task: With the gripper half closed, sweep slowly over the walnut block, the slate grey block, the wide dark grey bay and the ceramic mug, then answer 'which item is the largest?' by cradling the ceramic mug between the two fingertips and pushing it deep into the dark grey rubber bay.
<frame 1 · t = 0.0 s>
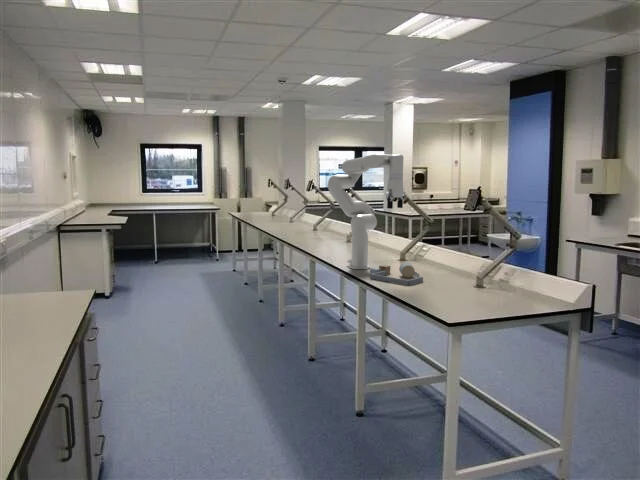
hand: (394, 208, 285), 37 cm above the table, tool pointing down, fingers open, 9 cm apart
walnut block: (384, 273, 289), on the table
slate block: (374, 275, 282), on the table
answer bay: (398, 279, 273), on the table
ceramic mug: (409, 277, 280), on the table
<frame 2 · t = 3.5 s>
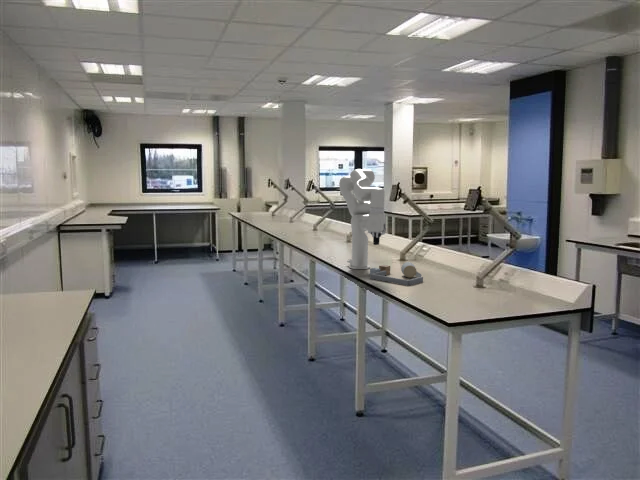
hand: (376, 244, 280), 17 cm above the table, tool pointing down, fingers closed
ceramic mug: (411, 277, 280), on the table
everything else where it was.
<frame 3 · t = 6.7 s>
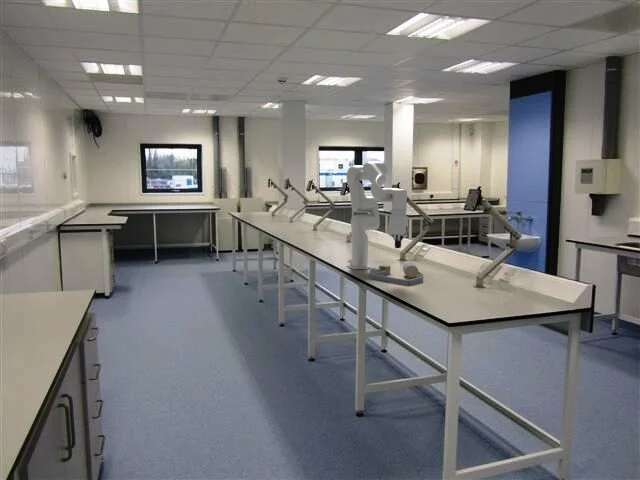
hand: (397, 247, 269), 17 cm above the table, tool pointing down, fingers closed
nothing on the table moved.
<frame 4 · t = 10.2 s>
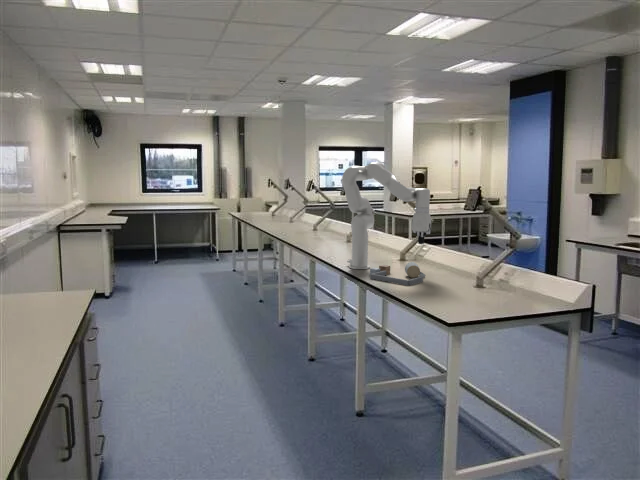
hand: (421, 243, 286), 17 cm above the table, tool pointing down, fingers closed
ceramic mug: (414, 277, 280), on the table
everything else where it was.
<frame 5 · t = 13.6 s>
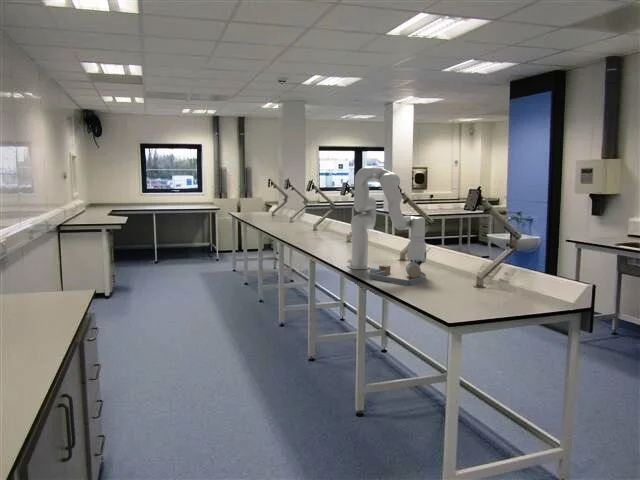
hand: (416, 272, 285), 2 cm above the table, tool pointing down, fingers closed
ceramic mug: (415, 277, 279), on the table, touching gripper
everything else where it was.
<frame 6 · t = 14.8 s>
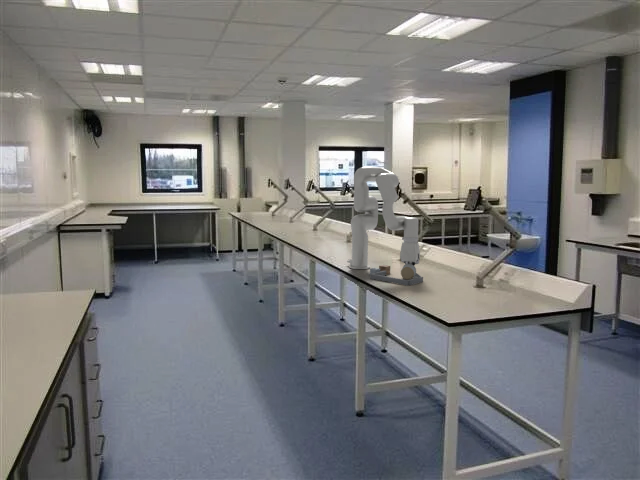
hand: (409, 273, 280), 2 cm above the table, tool pointing down, fingers closed
ceramic mug: (410, 279, 274), on the table, touching gripper
everything else where it was.
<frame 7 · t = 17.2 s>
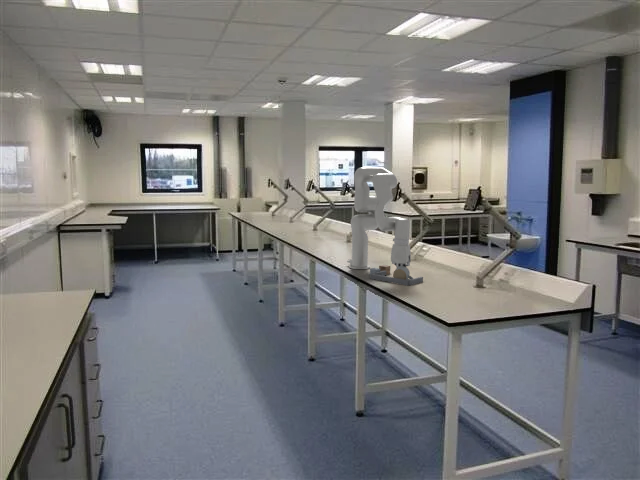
hand: (400, 275, 273), 2 cm above the table, tool pointing down, fingers closed
ceramic mug: (403, 281, 267), on the table, touching gripper
everything else where it was.
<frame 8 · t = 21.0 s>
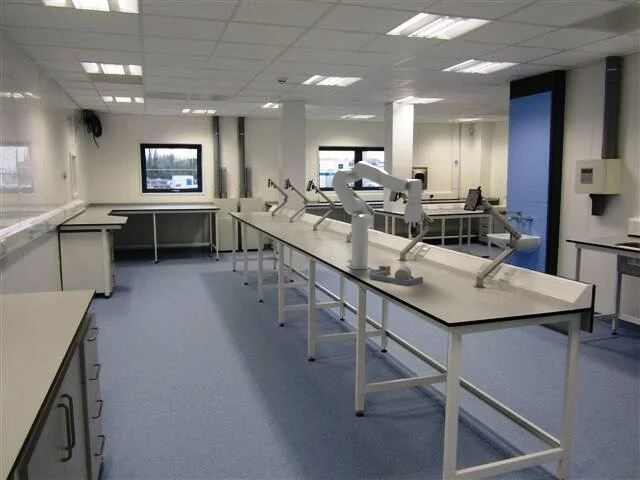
hand: (413, 233, 290), 22 cm above the table, tool pointing down, fingers closed
ceramic mug: (405, 282, 267), on the table
everything else where it was.
at the end: ceramic mug inside the target area on the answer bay (5.6 cm from its centre), point 0.0 cm above the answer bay's base; ceramic mug tilted 0°; slate block moved 0.1 cm from its start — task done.
